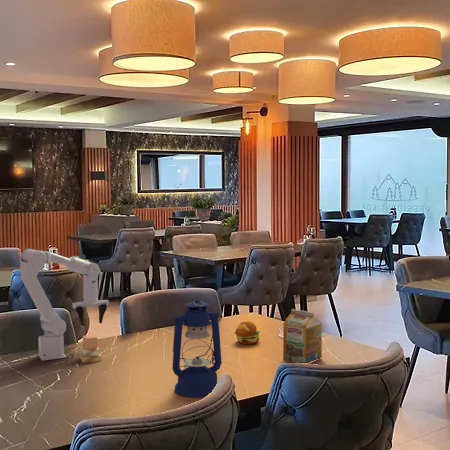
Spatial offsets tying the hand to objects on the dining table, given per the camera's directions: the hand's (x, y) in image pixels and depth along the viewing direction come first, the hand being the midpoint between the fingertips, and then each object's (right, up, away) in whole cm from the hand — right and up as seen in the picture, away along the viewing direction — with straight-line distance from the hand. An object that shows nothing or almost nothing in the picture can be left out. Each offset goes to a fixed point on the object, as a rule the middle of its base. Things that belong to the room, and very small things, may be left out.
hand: (91, 323), depth 253 cm
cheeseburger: (+65, -10, +10) cm, 66 cm away
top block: (+3, -10, -15) cm, 18 cm away
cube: (+3, -7, -14) cm, 16 cm away
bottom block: (+3, -12, -14) cm, 19 cm away
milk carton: (+85, -12, -15) cm, 87 cm away
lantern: (+46, -14, -49) cm, 69 cm away
